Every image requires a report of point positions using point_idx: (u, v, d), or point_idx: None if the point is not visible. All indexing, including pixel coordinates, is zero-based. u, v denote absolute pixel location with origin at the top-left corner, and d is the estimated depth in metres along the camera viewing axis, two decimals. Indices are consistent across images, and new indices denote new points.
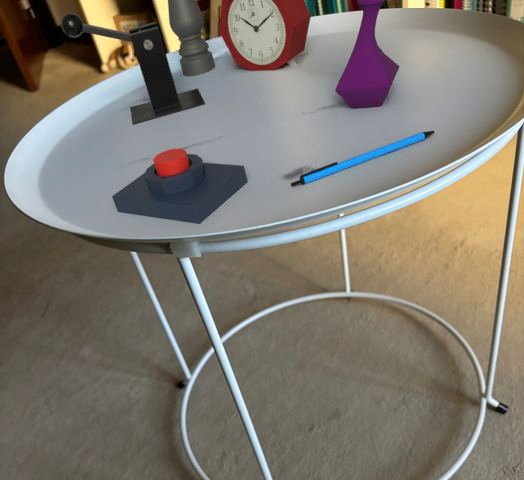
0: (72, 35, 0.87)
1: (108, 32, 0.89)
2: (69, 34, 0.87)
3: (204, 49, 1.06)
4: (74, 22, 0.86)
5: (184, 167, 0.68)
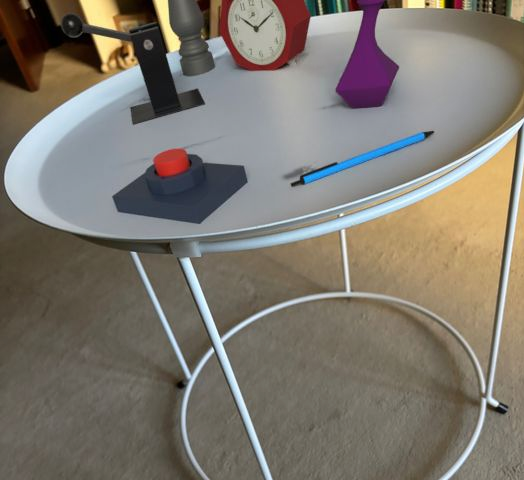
0: (72, 35, 0.87)
1: (108, 32, 0.89)
2: (69, 34, 0.87)
3: (204, 49, 1.06)
4: (74, 22, 0.86)
5: (184, 167, 0.68)
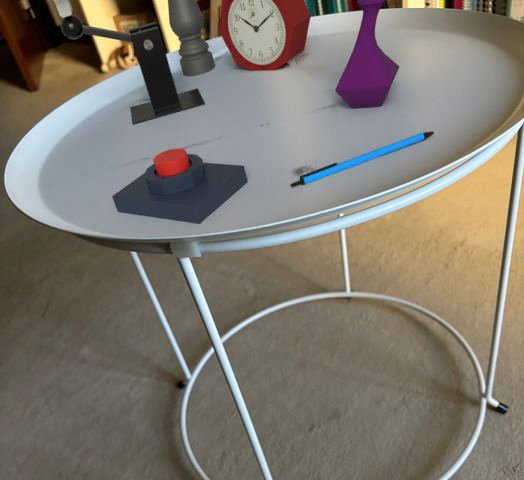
0: (72, 37, 0.88)
1: (108, 33, 0.89)
2: (69, 36, 0.87)
3: (204, 49, 1.06)
4: (74, 24, 0.86)
5: (184, 167, 0.68)
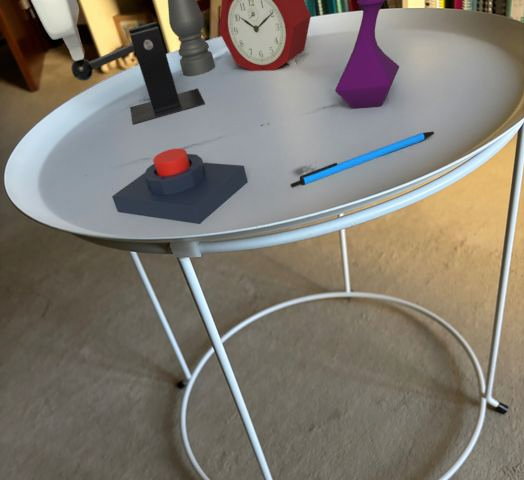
0: (86, 78, 0.91)
1: (112, 56, 0.91)
2: (83, 79, 0.91)
3: (204, 49, 1.06)
4: (81, 66, 0.90)
5: (184, 167, 0.68)
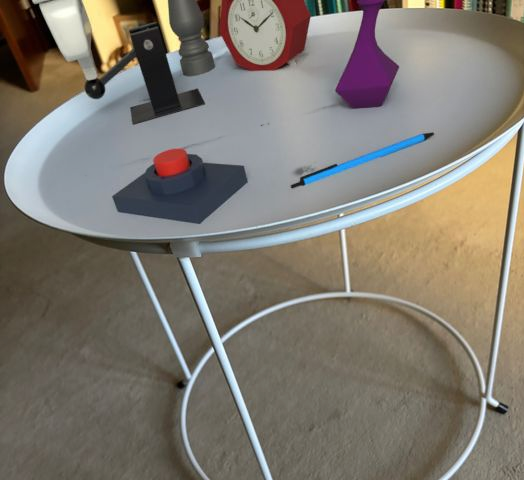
0: (100, 95, 0.93)
1: (118, 66, 0.92)
2: (98, 97, 0.93)
3: (204, 49, 1.06)
4: (93, 85, 0.92)
5: (184, 167, 0.68)
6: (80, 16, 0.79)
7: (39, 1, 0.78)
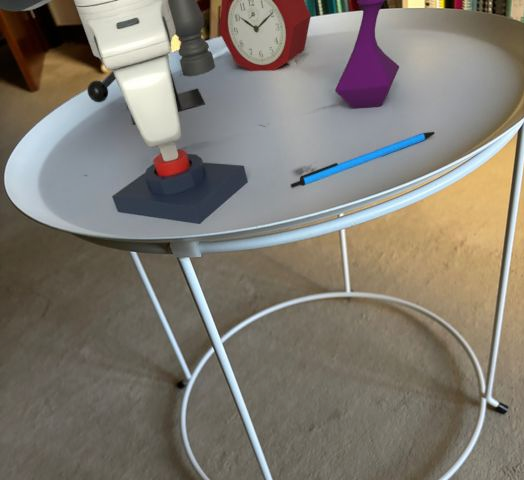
0: (103, 98, 0.94)
1: None
2: (101, 100, 0.94)
3: (204, 49, 1.06)
4: (95, 89, 0.92)
5: (184, 168, 0.68)
6: (172, 87, 0.55)
7: (115, 67, 0.54)
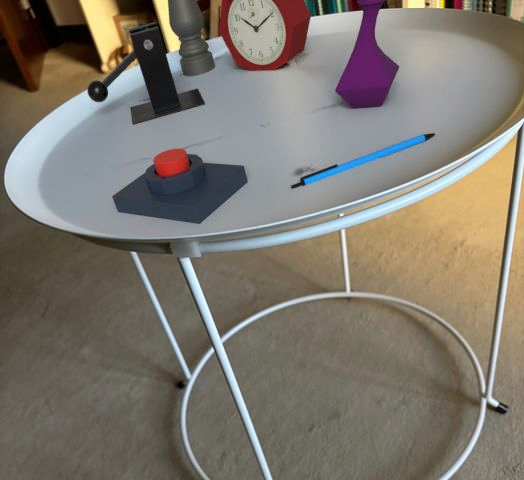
0: (103, 98, 0.94)
1: (119, 68, 0.92)
2: (101, 100, 0.94)
3: (204, 49, 1.06)
4: (95, 89, 0.92)
5: (184, 167, 0.68)
6: None
7: None
